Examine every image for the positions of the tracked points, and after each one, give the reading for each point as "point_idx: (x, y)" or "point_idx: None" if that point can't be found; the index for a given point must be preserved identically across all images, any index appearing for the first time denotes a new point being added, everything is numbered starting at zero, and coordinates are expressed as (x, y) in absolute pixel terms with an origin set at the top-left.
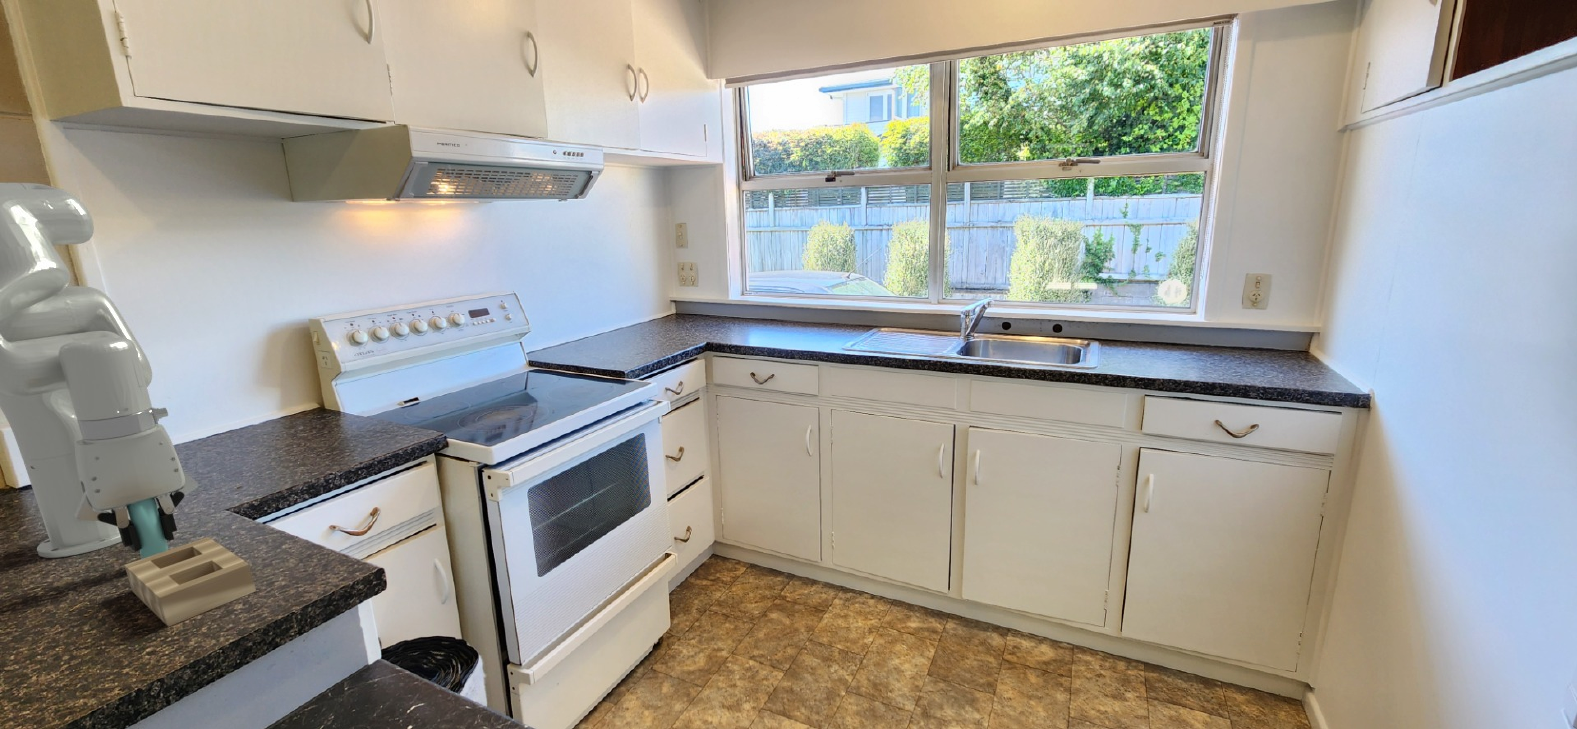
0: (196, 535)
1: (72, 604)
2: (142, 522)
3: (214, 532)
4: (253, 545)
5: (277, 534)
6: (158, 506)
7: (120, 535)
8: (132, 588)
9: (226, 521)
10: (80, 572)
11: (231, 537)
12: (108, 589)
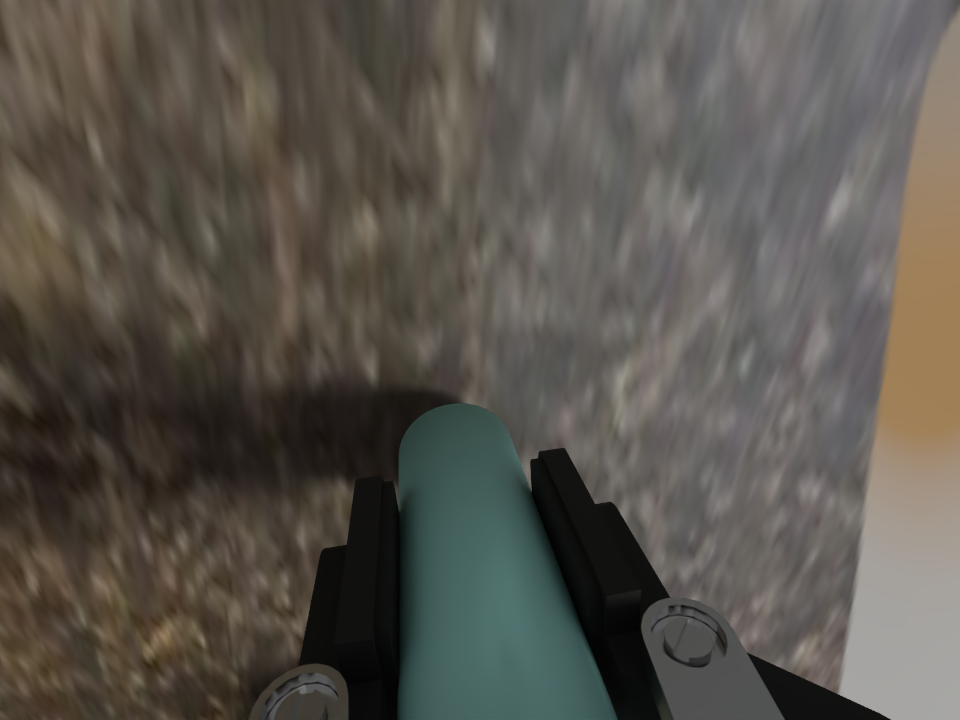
0: (682, 142)
1: (141, 607)
2: None
3: (751, 197)
4: (757, 557)
5: (857, 516)
6: (650, 657)
7: (313, 607)
8: None
9: (871, 30)
10: (93, 167)
11: (758, 375)
12: (262, 563)
